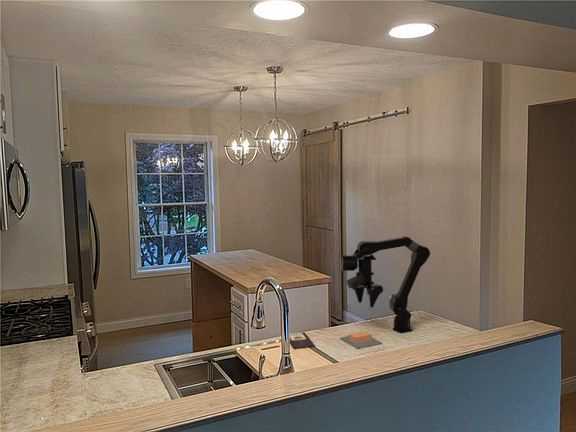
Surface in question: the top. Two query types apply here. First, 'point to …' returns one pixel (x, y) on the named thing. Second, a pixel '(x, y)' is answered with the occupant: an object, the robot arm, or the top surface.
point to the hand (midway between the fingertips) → (365, 305)
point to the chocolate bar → (300, 341)
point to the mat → (362, 344)
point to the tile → (360, 337)
